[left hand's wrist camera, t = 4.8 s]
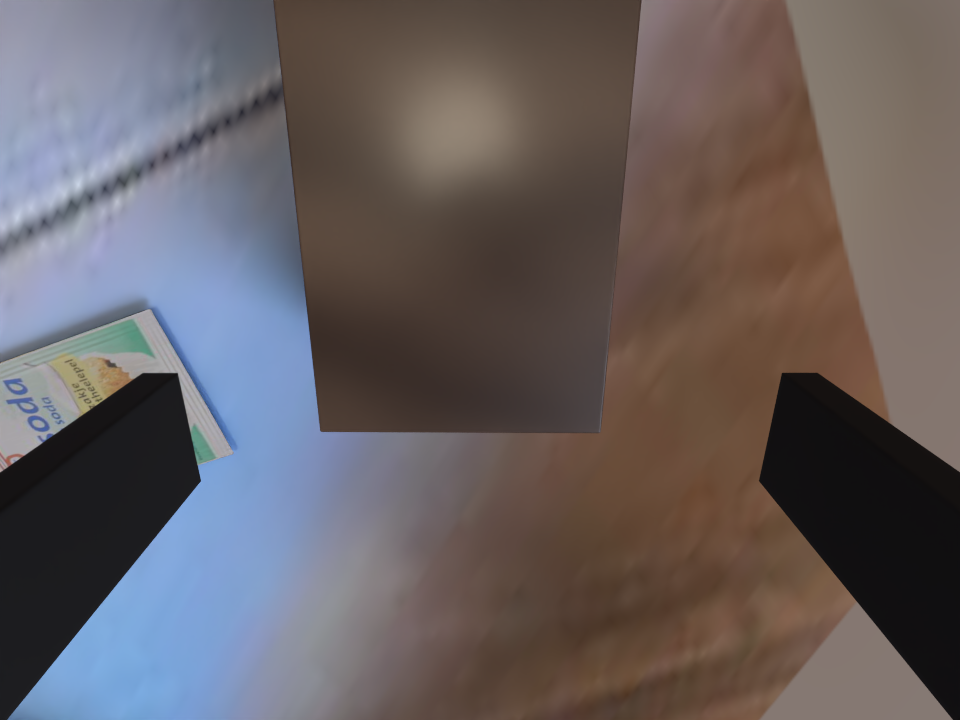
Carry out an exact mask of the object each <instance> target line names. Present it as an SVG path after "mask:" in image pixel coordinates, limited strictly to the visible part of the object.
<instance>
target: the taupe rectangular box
mask: <svg viewBox="0 0 960 720" xmlns="http://www.w3.org/2000/svg"><path fill="white" fill-rule="evenodd" d="M273 1H274V10H275V19H276V29H277V38H278V47H279V56H280V65H281V75H282V84H283V93H284V102H285V111H286V121H287V130H288V139H289V148H290V157H291V166H292V176H293V185H294V194H295V203H296V212H297V222H298V231H299V240H300V249H301V258H302V267H303V277H304V286H305V295H306V304H307V313H308V323H309V332H310V341H311V350H312V359H313V369H314V378H315V387H316V396H317V405H318V414H319V424H320V431H321V432H477V433H600V431H601V422H602V411H603V401H604V390H605V380H606V369H607V359H608V348H609V337H610V327H611V316H612V306H613V295H614V285H615V274H616V263H617V253H618V242H619V232H620V221H621V211H622V200H623V190H624V179H625V168H626V158H627V147H628V137H629V126H630V116H631V105H632V94H633V84H634V73H635V63H636V52H637V42H638V31H639V21H640V10H641V0H273Z"/></svg>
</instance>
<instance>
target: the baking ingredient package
mask: <svg viewBox="0 0 960 720" xmlns="http://www.w3.org/2000/svg"><path fill="white" fill-rule="evenodd" d="M142 373H178V376H179V380H180V385H181V390H182V394H183V399H184V404H185V409H186V413H187V418H188V423H189V427H190V432H191V437H192V441H193V446H194V451H195V456H196V460H197V465H200V464H203V463H206V462H209V461H213V460H216V459H219V458H222V457H225V456H228V455H232V454H233V453H234V452H233V451H232V449H231V447H230V446H229V444H228V442H227V440H226V439H225V437H224V435H223V433H222V431H221V430H220V428H219V426H218V424H217V423H216V421H215V419H214V417H213V416H212V414H211V412H210V410H209V409H208V407H207V405H206V403H205V402H204V400H203V398H202V397H201V395H200V393H199V391H198V390H197V388H196V386H195V384H194V383H193V381H192V379H191V378H190V376H189V374H188V372H187V371H186V369H185V367H184V366H183V364H182V362H181V360H180V359H179V357H178V355H177V353H176V352H175V350H174V348H173V347H172V345H171V343H170V341H169V340H168V338H167V336H166V335H165V333H164V331H163V330H162V328H161V326H160V325H159V323H158V321H157V320H156V318H155V316H154V315H153V313H152V311H151V309H148V310H145V311H142V312H139V313H137V314H134V315H131V316H128V317H126V318H123V319H120V320H117V321H114V322H112V323H109V324H106V325H103V326H101V327H98V328H95V329H92V330H90V331H87V332H84V333H81V334H78V335H76V336H73V337H70V338H67V339H65V340H62V341H59V342H56V343H54V344H51V345H48V346H45V347H43V348H40V349H37V350H34V351H31V352H29V353H26V354H23V355H20V356H18V357H15V358H12V359H9V360H7V361H4V362H1V363H0V472H1V471H3V470H4V469H6V468H7V467H9V466H10V465H11V464H13V463H14V462H16V461H17V460H19V459H20V458H21V457H23V456H24V455H26V454H27V453H29V452H30V451H31V450H33V449H34V448H36V447H37V446H39V445H40V444H41V443H43V442H44V441H46V440H47V439H49V438H50V437H52V436H53V435H54V434H56V433H57V432H59V431H60V430H62V429H63V428H64V427H66V426H67V425H69V424H70V423H72V422H73V421H74V420H76V419H77V418H79V417H80V416H82V415H83V414H84V413H86V412H87V411H89V410H90V409H92V408H93V407H95V406H96V405H97V404H99V403H100V402H102V401H103V400H105V399H106V398H107V397H109V396H110V395H112V394H113V393H115V392H116V391H117V390H119V389H120V388H122V387H123V386H125V385H126V384H127V383H129V382H130V381H132V380H133V379H135V378H136V377H137V376H139V375H140V374H142Z"/></svg>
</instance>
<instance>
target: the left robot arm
mask: <svg viewBox="0 0 960 720" xmlns="http://www.w3.org/2000/svg"><path fill="white" fill-rule="evenodd" d="M200 482H201V479H200V474H199V470H198V465H197V460H196V456H195V451H194V446H193V441H192V437H191V432H190V427H189V423H188V418H187V413H186V409H185V404H184V399H183V394H182V390H181V385H180V380H179V376H178V373H142V374H140V375H139V376H137V377H136V378H135V379H133V380H132V381H130V382H129V383H127V384H126V385H125V386H123V387H122V388H120V389H119V390H117V391H116V392H115V393H113V394H112V395H110V396H109V397H107V398H106V399H105V400H103V401H102V402H100V403H99V404H97V405H96V406H95V407H93V408H92V409H90V410H89V411H87V412H86V413H84V414H83V415H82V416H80V417H79V418H77V419H76V420H74V421H73V422H72V423H70V424H69V425H67V426H66V427H64V428H63V429H62V430H60V431H59V432H57V433H56V434H54V435H53V436H52V437H50V438H49V439H47V440H46V441H44V442H43V443H41V444H40V445H39V446H37V447H36V448H34V449H33V450H31V451H30V452H29V453H27V454H26V455H24V456H23V457H21V458H20V459H19V460H17V461H16V462H14V463H13V464H11V465H10V466H9V467H7V468H6V469H4V470H3V471H1V472H0V720H7V719H8V718H9V717H10V715H11V714H12V713H13V712H14V710H15V709H16V708H17V707H18V706H19V704H20V703H21V702H22V701H23V699H24V698H25V697H26V696H27V694H28V693H29V692H30V691H31V690H32V688H33V687H34V686H35V685H36V683H37V682H38V681H39V680H40V678H41V677H42V676H43V675H44V674H45V672H46V671H47V670H48V669H49V667H50V666H51V665H52V664H53V662H54V661H55V660H56V659H57V658H58V656H59V655H60V654H61V653H62V651H63V650H64V649H65V648H66V646H67V645H68V644H69V643H70V642H71V640H72V639H73V638H74V637H75V635H76V634H77V633H78V632H79V630H80V629H81V628H82V627H83V626H84V624H85V623H86V622H87V621H88V619H89V618H90V617H91V616H92V614H93V613H94V612H95V611H96V610H97V608H98V607H99V606H100V605H101V603H102V602H103V601H104V600H105V598H106V597H107V596H108V595H109V594H110V592H111V591H112V590H113V589H114V587H115V586H116V585H117V584H118V582H119V581H120V580H121V579H122V578H123V576H124V575H125V574H126V573H127V571H128V570H129V569H130V568H131V566H132V565H133V564H134V563H135V562H136V560H137V559H138V558H139V557H140V555H141V554H142V553H143V552H144V550H145V549H146V548H147V547H148V546H149V544H150V543H151V542H152V541H153V539H154V538H155V537H156V536H157V534H158V533H159V532H160V531H161V530H162V528H163V527H164V526H165V525H166V523H167V522H168V521H169V520H170V518H171V517H172V516H173V515H174V514H175V512H176V511H177V510H178V509H179V507H180V506H181V505H182V504H183V502H184V501H185V500H186V499H187V498H188V496H189V495H190V494H191V493H192V491H193V490H194V489H195V488H196V486H197V485H198V484H199V483H200ZM759 482H760V483H761V484H762V485H763V486H764V488H765V489H766V490H767V491H768V493H769V494H770V495H771V496H772V498H773V499H774V500H775V501H776V502H777V504H778V505H779V506H780V507H781V509H782V510H783V511H784V512H785V514H786V515H787V516H788V517H789V518H790V520H791V521H792V522H793V523H794V525H795V526H796V527H797V528H798V530H799V531H800V532H801V533H802V534H803V536H804V537H805V538H806V539H807V541H808V542H809V543H810V544H811V546H812V547H813V548H814V549H815V550H816V552H817V553H818V554H819V555H820V557H821V558H822V559H823V560H824V562H825V563H826V564H827V565H828V566H829V568H830V569H831V570H832V571H833V573H834V574H835V575H836V576H837V578H838V579H839V580H840V581H841V582H842V584H843V585H844V586H845V587H846V589H847V590H848V591H849V592H850V594H851V595H852V596H853V597H854V598H855V600H856V601H857V602H858V603H859V605H860V606H861V607H862V608H863V610H864V611H865V612H866V613H867V614H868V616H869V617H870V618H871V619H872V621H873V622H874V623H875V624H876V626H877V627H878V628H879V629H880V630H881V632H882V633H883V634H884V635H885V637H886V638H887V639H888V640H889V642H890V643H891V644H892V645H893V646H894V648H895V649H896V650H897V651H898V653H899V654H900V655H901V656H902V657H903V659H904V660H905V661H906V662H907V664H908V665H909V666H910V667H911V669H912V670H913V671H914V672H915V674H916V675H917V676H918V677H919V678H920V680H921V681H922V682H923V683H924V684H925V686H926V687H927V688H928V690H929V691H930V692H931V693H932V694H933V696H934V697H935V698H936V699H937V701H938V702H939V703H940V704H941V706H942V707H943V708H944V709H945V710H946V712H947V713H948V714H949V715H950V717H951V718H952V719H953V720H960V472H959V471H957V470H956V469H954V468H953V467H951V466H950V465H949V464H947V463H946V462H944V461H943V460H941V459H940V458H939V457H937V456H936V455H934V454H933V453H931V452H930V451H928V450H927V449H926V448H924V447H923V446H921V445H920V444H918V443H917V442H916V441H914V440H913V439H911V438H910V437H908V436H907V435H906V434H904V433H903V432H901V431H900V430H898V429H897V428H895V427H894V426H893V425H891V424H890V423H888V422H887V421H886V420H884V419H883V418H881V417H880V416H878V415H877V414H876V413H874V412H873V411H871V410H870V409H868V408H867V407H865V406H864V405H863V404H861V403H860V402H858V401H857V400H855V399H854V398H853V397H851V396H850V395H848V394H847V393H845V392H844V391H843V390H841V389H840V388H838V387H837V386H835V385H834V384H833V383H831V382H830V381H828V380H827V379H825V378H824V377H823V376H821V375H820V374H818V373H782V376H781V380H780V385H779V390H778V394H777V399H776V404H775V409H774V413H773V418H772V423H771V427H770V432H769V437H768V441H767V446H766V451H765V456H764V460H763V465H762V470H761V474H760V479H759Z"/></svg>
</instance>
